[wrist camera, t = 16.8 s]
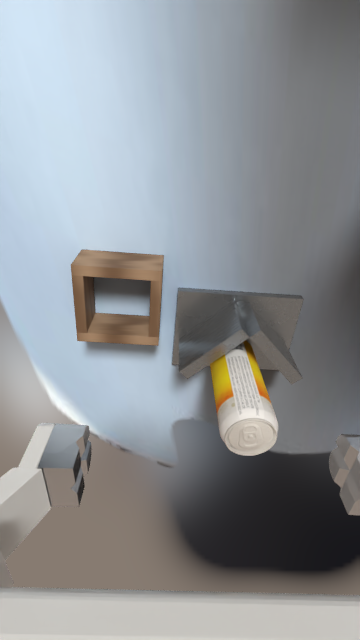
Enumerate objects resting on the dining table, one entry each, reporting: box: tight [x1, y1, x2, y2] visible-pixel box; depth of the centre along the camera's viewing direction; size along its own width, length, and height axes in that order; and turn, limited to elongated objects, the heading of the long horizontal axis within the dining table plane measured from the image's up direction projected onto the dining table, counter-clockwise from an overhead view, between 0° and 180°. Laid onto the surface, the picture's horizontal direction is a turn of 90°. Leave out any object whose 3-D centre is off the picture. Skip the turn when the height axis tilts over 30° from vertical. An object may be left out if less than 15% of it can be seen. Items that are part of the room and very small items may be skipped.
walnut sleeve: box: [71, 250, 164, 346], centre depth 41 cm, size 10×10×5 cm
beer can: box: [210, 340, 278, 456], centre depth 41 cm, size 6×6×15 cm
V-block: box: [172, 288, 304, 384], centre depth 43 cm, size 16×12×8 cm
